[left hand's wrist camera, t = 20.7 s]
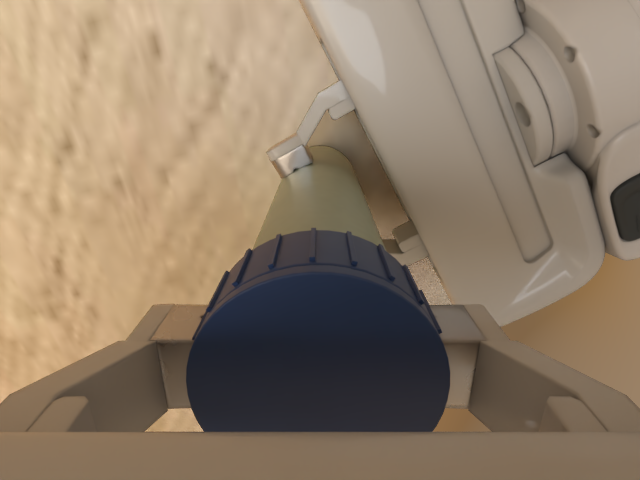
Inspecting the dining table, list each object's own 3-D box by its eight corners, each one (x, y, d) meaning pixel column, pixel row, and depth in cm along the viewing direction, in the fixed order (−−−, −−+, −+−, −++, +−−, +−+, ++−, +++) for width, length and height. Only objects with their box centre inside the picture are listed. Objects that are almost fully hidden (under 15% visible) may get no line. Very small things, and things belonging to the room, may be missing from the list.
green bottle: (311, 130, 25) (292, 230, 7) (369, 174, 26) (470, 352, 8) (270, 188, 26) (172, 388, 9) (326, 228, 27) (338, 478, 10)
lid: (289, 438, 11) (282, 519, 9) (166, 297, 10) (122, 356, 8) (461, 354, 10) (497, 424, 8) (356, 181, 9) (367, 212, 7)
